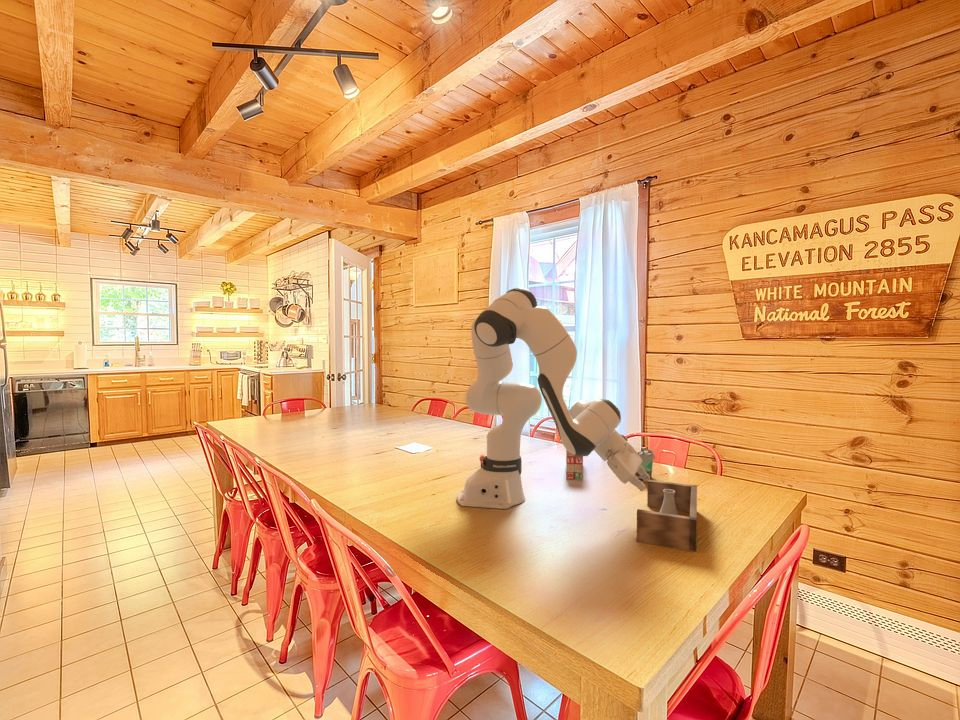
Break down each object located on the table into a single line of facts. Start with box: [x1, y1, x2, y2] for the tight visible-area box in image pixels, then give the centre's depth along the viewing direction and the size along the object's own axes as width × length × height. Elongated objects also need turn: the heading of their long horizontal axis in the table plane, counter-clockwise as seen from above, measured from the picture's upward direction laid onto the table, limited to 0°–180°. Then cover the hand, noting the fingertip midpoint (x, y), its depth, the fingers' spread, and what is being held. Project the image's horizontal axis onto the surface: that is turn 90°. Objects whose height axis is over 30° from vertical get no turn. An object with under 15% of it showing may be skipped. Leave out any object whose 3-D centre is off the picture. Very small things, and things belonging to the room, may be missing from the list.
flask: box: [659, 489, 679, 515], centre depth 128 cm, size 7×7×10 cm
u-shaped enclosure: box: [636, 479, 698, 552], centre depth 128 cm, size 14×29×8 cm, turn 154°
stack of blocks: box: [565, 448, 584, 481], centre depth 181 cm, size 21×6×12 cm, turn 168°
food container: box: [635, 447, 656, 482], centre depth 172 cm, size 12×6×10 cm, turn 148°
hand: (646, 484), depth 130 cm, fingers open, 8 cm apart
